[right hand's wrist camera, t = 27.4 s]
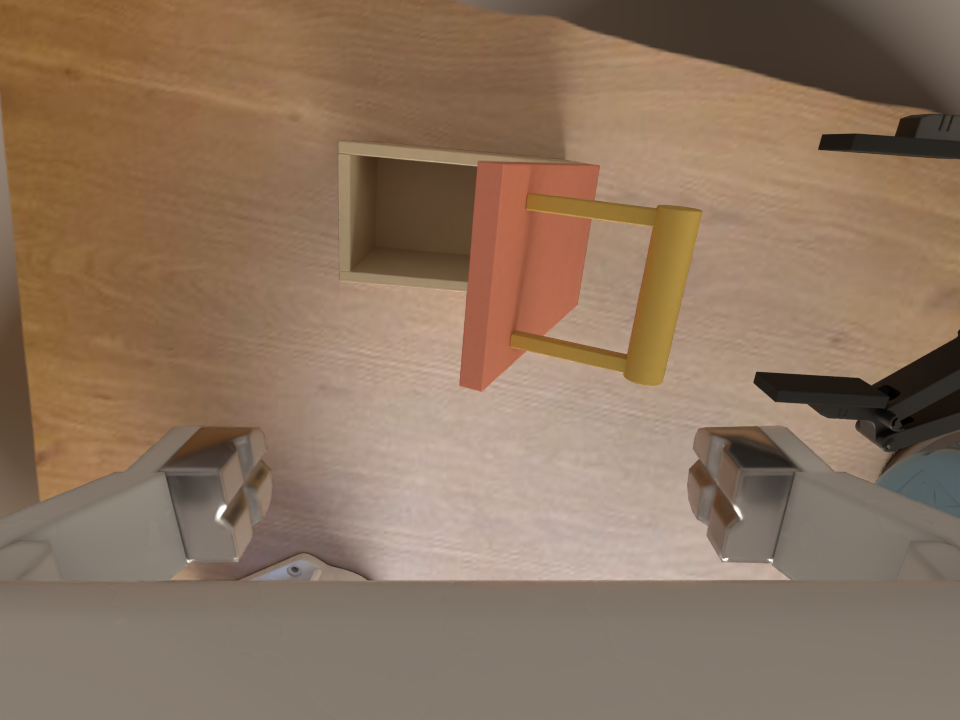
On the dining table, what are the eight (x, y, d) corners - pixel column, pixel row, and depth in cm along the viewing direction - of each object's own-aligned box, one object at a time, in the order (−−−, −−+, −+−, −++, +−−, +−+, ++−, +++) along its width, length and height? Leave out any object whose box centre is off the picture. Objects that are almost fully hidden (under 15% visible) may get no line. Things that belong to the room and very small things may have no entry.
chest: (368, 252, 50) (338, 281, 40) (369, 141, 46) (337, 140, 36) (550, 269, 50) (568, 301, 40) (565, 159, 47) (590, 164, 37)
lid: (458, 386, 24) (647, 436, 22) (476, 160, 21) (706, 185, 18) (562, 302, 40) (681, 324, 37) (583, 163, 36) (716, 177, 33)
